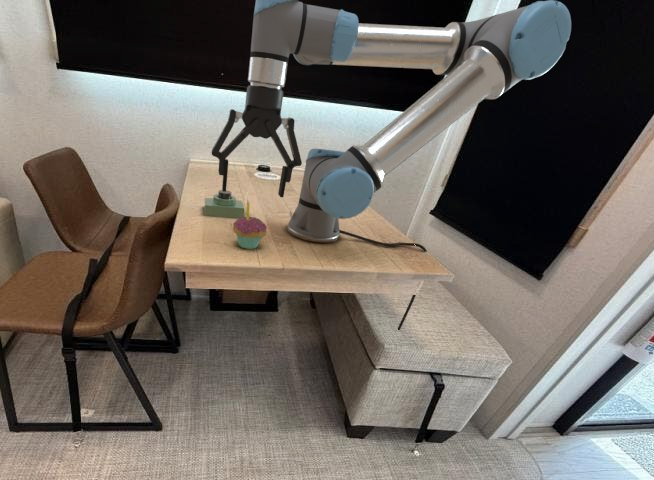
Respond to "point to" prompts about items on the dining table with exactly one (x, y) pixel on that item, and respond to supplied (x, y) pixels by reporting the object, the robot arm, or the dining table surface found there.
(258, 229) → the cupcake
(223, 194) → the pump
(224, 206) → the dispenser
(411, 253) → the dining table surface
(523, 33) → the robot arm
